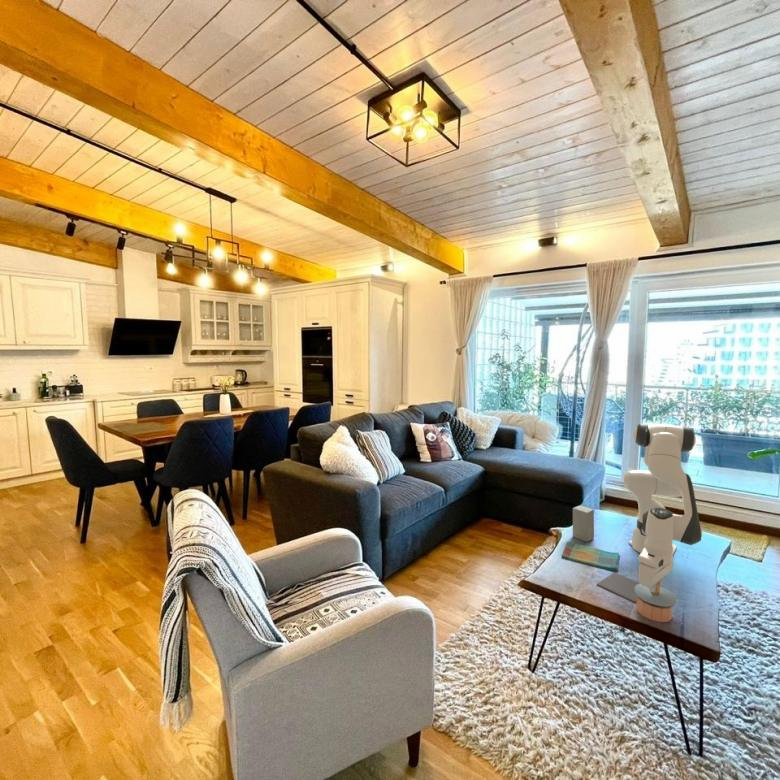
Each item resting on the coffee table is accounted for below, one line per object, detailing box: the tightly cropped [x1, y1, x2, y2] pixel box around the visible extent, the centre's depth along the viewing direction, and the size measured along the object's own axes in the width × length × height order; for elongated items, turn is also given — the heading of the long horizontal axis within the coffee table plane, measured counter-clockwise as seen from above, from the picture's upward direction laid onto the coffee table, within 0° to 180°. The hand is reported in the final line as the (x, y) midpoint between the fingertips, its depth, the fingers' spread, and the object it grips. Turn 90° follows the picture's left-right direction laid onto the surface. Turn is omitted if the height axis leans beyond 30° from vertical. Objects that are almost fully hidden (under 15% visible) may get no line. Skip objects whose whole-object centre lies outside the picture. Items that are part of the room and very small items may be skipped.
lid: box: [634, 582, 677, 607], centre depth 153 cm, size 13×13×5 cm
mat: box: [596, 571, 640, 604], centre depth 170 cm, size 15×15×1 cm
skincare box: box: [572, 505, 595, 543], centre depth 213 cm, size 8×7×16 cm
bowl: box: [635, 596, 674, 623], centre depth 154 cm, size 11×11×5 cm
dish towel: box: [561, 541, 621, 572], centre depth 194 cm, size 17×23×2 cm
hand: (655, 589), depth 153 cm, fingers closed on lid, 3 cm apart
